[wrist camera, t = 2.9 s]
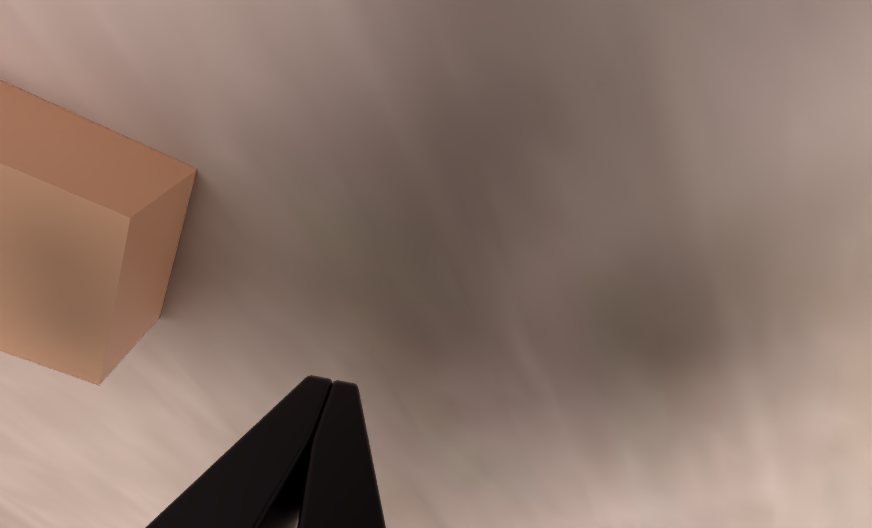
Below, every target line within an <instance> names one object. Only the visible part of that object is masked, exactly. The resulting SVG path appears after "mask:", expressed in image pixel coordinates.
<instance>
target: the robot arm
mask: <svg viewBox="0 0 872 528" xmlns="http://www.w3.org/2000/svg"><path fill="white" fill-rule="evenodd" d="M146 528H386V526H385V521H384V516H383V511H382V505H381V500H380V495H379V490H378V485H377V480H376V475H375V470H374V465H373V460H372V455H371V449H370V444H369V439H368V434H367V429H366V424H365V419H364V414H363V409H362V404H361V399H360V393H359V389H358V386H357V385H356V384H354V383H349V382H344V381H339V380H336V381H334V382H333V383H332V381H331V380H330V379H328V378H323V377H318V376H312V375H310V376H308V377H306V378H305V379H304V380H303V381H302V382H301V383H299V384H298V385H297V386H296V387H295V388H294V389H293V390H292V391H291V392H290V393H289V394H288V395H287V396H286V397H284V398H283V399H282V400H281V401H280V402H279V403H278V404H277V405H276V406H275V407H274V408H273V409H272V410H271V411H270V412H268V413H267V414H266V415H265V416H264V417H263V418H262V419H261V420H260V421H259V422H258V423H257V424H256V425H255V426H253V427H252V428H251V429H250V430H249V431H248V432H247V433H246V434H245V435H244V436H243V437H242V438H241V439H240V440H239V441H237V442H236V443H235V444H234V445H233V446H232V447H231V448H230V449H229V450H228V451H227V452H226V453H225V454H224V455H222V456H221V457H220V458H219V459H218V460H217V461H216V462H215V463H214V464H213V465H212V466H211V467H210V468H209V469H208V470H206V471H205V472H204V473H203V474H202V475H201V476H200V477H199V478H198V479H197V480H196V481H195V482H194V483H193V484H191V485H190V486H189V487H188V488H187V489H186V490H185V491H184V492H183V493H182V494H181V495H180V496H179V497H178V498H177V499H175V500H174V501H173V502H172V503H171V504H170V505H169V506H168V507H167V508H166V509H165V510H164V511H163V512H162V513H160V514H159V515H158V516H157V517H156V518H155V519H154V520H153V521H152V522H151V523H150V524H149V525H148V526H147V527H146Z"/></svg>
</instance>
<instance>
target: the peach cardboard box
mask: <svg viewBox="0 0 872 528" xmlns="http://www.w3.org/2000/svg"><path fill="white" fill-rule="evenodd" d="M196 172H197V169H196V168H194V167H191V166H189V165H187V164H185V163H183V162H180V161H178V160H176V159H174V158H171V157H169V156H167V155H165V154H163V153H160V152H158V151H156V150H154V149H152V148H149V147H147V146H145V145H143V144H141V143H138V142H136V141H134V140H132V139H130V138H127V137H125V136H123V135H121V134H118V133H116V132H114V131H112V130H110V129H107V128H105V127H103V126H101V125H99V124H96V123H94V122H92V121H90V120H88V119H85V118H83V117H81V116H79V115H76V114H74V113H72V112H70V111H68V110H65V109H63V108H61V107H59V106H57V105H54V104H52V103H50V102H48V101H46V100H43V99H41V98H39V97H37V96H35V95H32V94H30V93H28V92H26V91H23V90H21V89H19V88H17V87H15V86H12V85H10V84H8V83H6V82H4V81H1V80H0V351H2V352H5V353H8V354H11V355H14V356H17V357H19V358H22V359H25V360H28V361H31V362H34V363H37V364H39V365H42V366H45V367H48V368H51V369H54V370H56V371H59V372H62V373H65V374H68V375H71V376H74V377H76V378H79V379H82V380H85V381H88V382H91V383H94V384H96V385H100V384H101V383H102V382H103V381H104V380H105V378H106V377H107V376H108V375H109V374H110V373H111V372H112V370H113V369H114V368H115V367H116V366H117V365H118V364H119V363H120V361H121V360H122V359H123V358H124V357H125V356H126V355H127V354H128V352H129V351H130V350H131V349H132V348H133V347H134V346H135V345H136V343H137V342H138V341H139V340H140V339H141V338H142V337H143V336H144V334H145V333H146V332H147V331H148V330H149V329H150V328H151V327H152V325H153V324H154V323H155V322H156V321H157V320H158V319H159V317H160V314H161V310H162V306H163V302H164V298H165V294H166V290H167V286H168V282H169V278H170V274H171V270H172V267H173V263H174V259H175V255H176V251H177V247H178V243H179V239H180V235H181V231H182V227H183V223H184V219H185V215H186V211H187V207H188V204H189V200H190V196H191V192H192V188H193V184H194V180H195V176H196Z"/></svg>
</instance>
